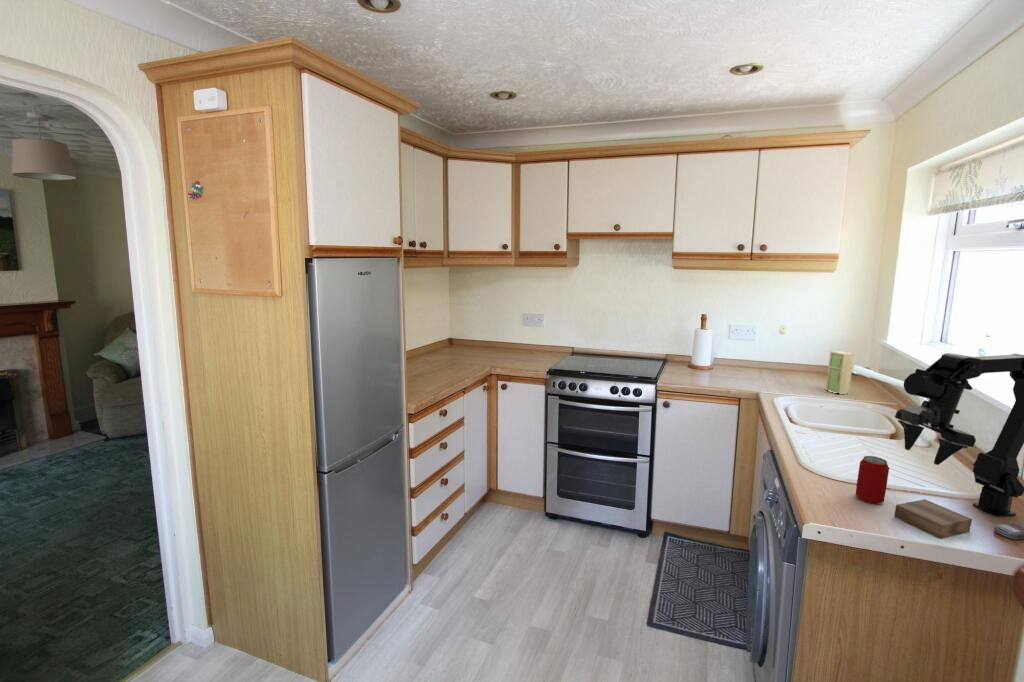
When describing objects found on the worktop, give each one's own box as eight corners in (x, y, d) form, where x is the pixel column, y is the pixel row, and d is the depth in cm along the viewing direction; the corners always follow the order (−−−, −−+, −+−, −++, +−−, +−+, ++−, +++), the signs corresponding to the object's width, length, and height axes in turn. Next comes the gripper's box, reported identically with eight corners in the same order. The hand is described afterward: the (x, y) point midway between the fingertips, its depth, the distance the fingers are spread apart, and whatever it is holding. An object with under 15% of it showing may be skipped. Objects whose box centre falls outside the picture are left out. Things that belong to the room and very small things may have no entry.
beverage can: (885, 499, 146) (891, 459, 144) (882, 507, 141) (888, 466, 139) (857, 492, 150) (862, 452, 148) (852, 499, 145) (858, 459, 143)
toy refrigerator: (824, 391, 266) (829, 351, 262) (834, 390, 268) (840, 350, 265) (837, 395, 258) (843, 354, 255) (848, 394, 261) (854, 353, 257)
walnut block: (922, 511, 139) (924, 499, 139) (969, 532, 129) (972, 519, 129) (894, 517, 136) (896, 504, 135) (940, 538, 126) (942, 525, 125)
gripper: (887, 385, 142) (867, 437, 145) (947, 407, 124) (923, 466, 126) (923, 393, 143) (903, 445, 146) (988, 416, 125) (963, 474, 128)
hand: (921, 456), depth 136 cm, fingers open, 9 cm apart
